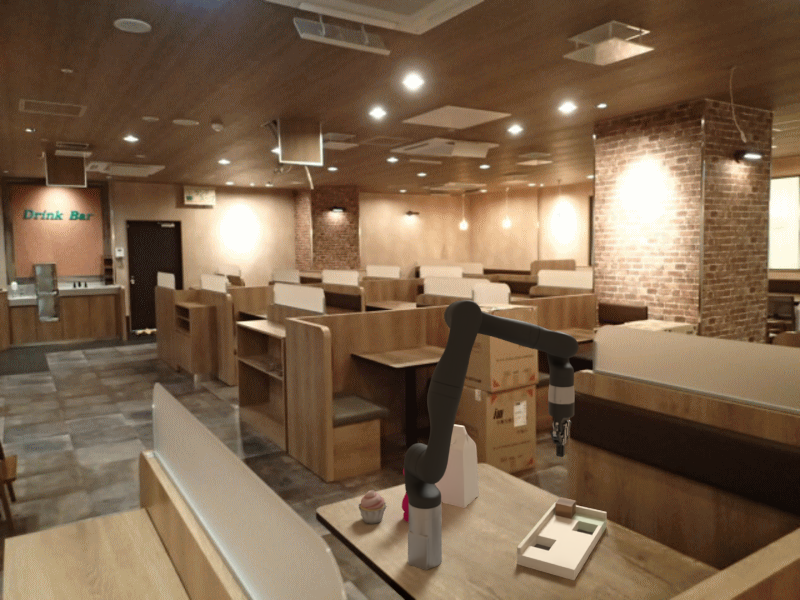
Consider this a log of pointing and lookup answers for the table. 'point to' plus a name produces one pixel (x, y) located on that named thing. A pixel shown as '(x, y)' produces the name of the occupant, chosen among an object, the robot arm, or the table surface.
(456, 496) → the milk
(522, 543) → the tray
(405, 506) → the pepper mill
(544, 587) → the table surface
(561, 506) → the block
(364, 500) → the cupcake
